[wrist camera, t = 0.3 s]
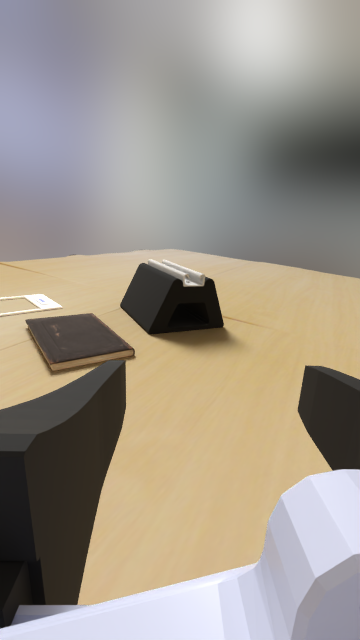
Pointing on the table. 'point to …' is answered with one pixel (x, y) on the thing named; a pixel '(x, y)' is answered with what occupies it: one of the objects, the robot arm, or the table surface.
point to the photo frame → (37, 300)
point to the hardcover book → (77, 340)
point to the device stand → (172, 299)
